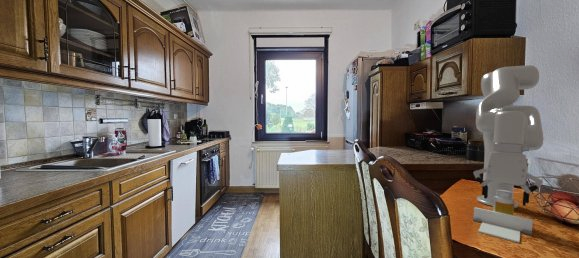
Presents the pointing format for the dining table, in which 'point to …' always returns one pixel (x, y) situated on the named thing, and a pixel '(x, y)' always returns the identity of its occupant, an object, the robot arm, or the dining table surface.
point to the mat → (500, 232)
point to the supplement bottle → (503, 202)
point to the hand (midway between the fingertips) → (504, 201)
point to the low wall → (503, 220)
